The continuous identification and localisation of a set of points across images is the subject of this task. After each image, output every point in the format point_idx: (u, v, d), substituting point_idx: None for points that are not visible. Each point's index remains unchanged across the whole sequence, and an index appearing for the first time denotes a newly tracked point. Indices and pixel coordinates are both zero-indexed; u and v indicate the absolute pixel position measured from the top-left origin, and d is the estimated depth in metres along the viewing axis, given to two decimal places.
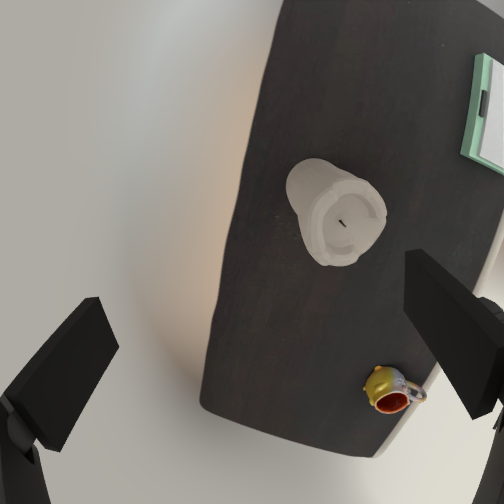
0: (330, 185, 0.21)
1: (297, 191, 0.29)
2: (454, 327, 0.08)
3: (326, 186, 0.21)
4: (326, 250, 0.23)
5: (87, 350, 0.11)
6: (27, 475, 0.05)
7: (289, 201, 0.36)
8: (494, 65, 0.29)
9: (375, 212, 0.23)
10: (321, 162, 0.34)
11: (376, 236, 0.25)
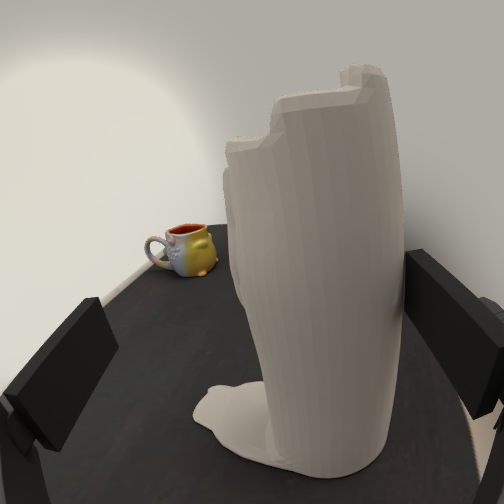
0: (366, 80, 0.09)
1: None
2: (455, 327, 0.08)
3: (372, 86, 0.09)
4: None
5: (87, 350, 0.11)
6: (27, 475, 0.05)
7: None
8: None
9: None
10: (341, 431, 0.13)
11: None
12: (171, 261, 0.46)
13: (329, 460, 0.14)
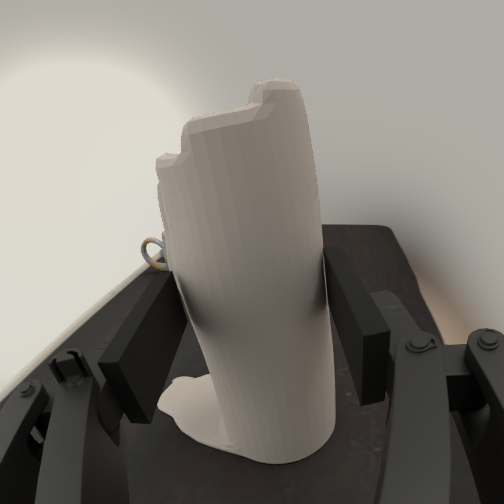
0: (266, 97, 0.10)
1: (324, 271, 0.14)
2: (345, 316, 0.10)
3: (274, 101, 0.10)
4: None
5: (167, 321, 0.13)
6: (109, 460, 0.06)
7: None
8: None
9: (177, 154, 0.13)
10: (276, 417, 0.15)
11: None
12: None
13: (271, 446, 0.15)
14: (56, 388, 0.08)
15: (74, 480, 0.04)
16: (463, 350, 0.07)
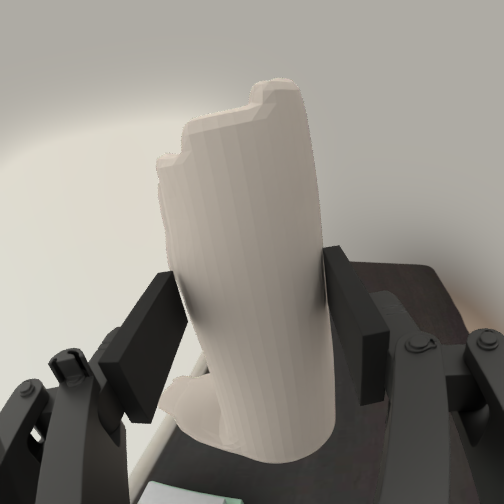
0: (266, 97, 0.10)
1: (324, 270, 0.14)
2: (345, 317, 0.10)
3: (274, 101, 0.10)
4: None
5: (167, 321, 0.13)
6: (110, 460, 0.06)
7: None
8: None
9: None
10: (275, 417, 0.15)
11: None
12: None
13: (271, 445, 0.16)
14: (56, 388, 0.08)
15: (74, 481, 0.04)
16: (462, 350, 0.07)
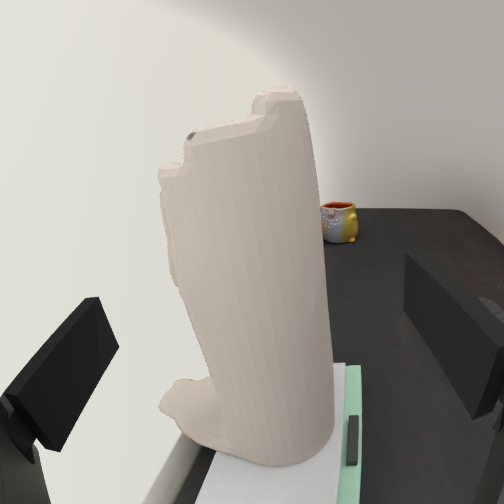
0: (269, 108, 0.10)
1: (325, 279, 0.14)
2: (454, 327, 0.08)
3: (277, 113, 0.10)
4: None
5: (87, 350, 0.11)
6: (27, 475, 0.05)
7: None
8: None
9: (180, 163, 0.13)
10: (276, 422, 0.15)
11: None
12: (328, 230, 0.58)
13: (271, 449, 0.16)
14: None
15: None
16: None
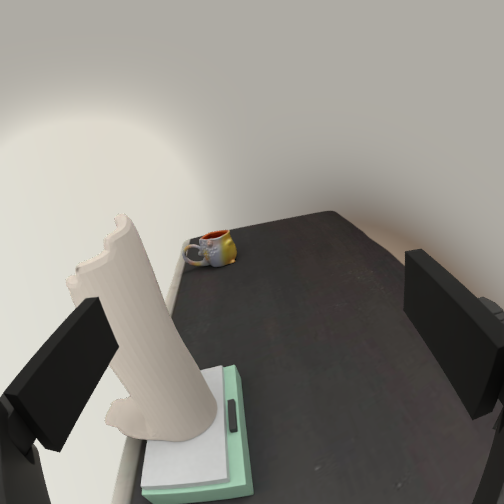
0: (111, 246, 0.20)
1: (170, 321, 0.24)
2: (454, 327, 0.08)
3: (115, 247, 0.20)
4: None
5: (87, 350, 0.11)
6: (27, 475, 0.05)
7: None
8: (222, 470, 0.22)
9: (76, 275, 0.21)
10: (169, 408, 0.24)
11: None
12: (210, 258, 0.69)
13: (175, 428, 0.25)
14: None
15: None
16: None
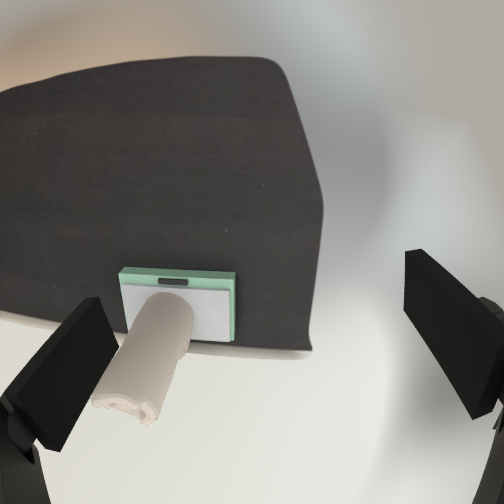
0: (140, 402, 0.24)
1: (142, 341, 0.31)
2: (454, 327, 0.08)
3: (139, 398, 0.25)
4: None
5: (87, 350, 0.11)
6: (27, 475, 0.05)
7: (143, 308, 0.38)
8: (222, 293, 0.41)
9: (142, 419, 0.27)
10: (184, 330, 0.38)
11: None
12: None
13: (190, 323, 0.41)
14: None
15: None
16: None
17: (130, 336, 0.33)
